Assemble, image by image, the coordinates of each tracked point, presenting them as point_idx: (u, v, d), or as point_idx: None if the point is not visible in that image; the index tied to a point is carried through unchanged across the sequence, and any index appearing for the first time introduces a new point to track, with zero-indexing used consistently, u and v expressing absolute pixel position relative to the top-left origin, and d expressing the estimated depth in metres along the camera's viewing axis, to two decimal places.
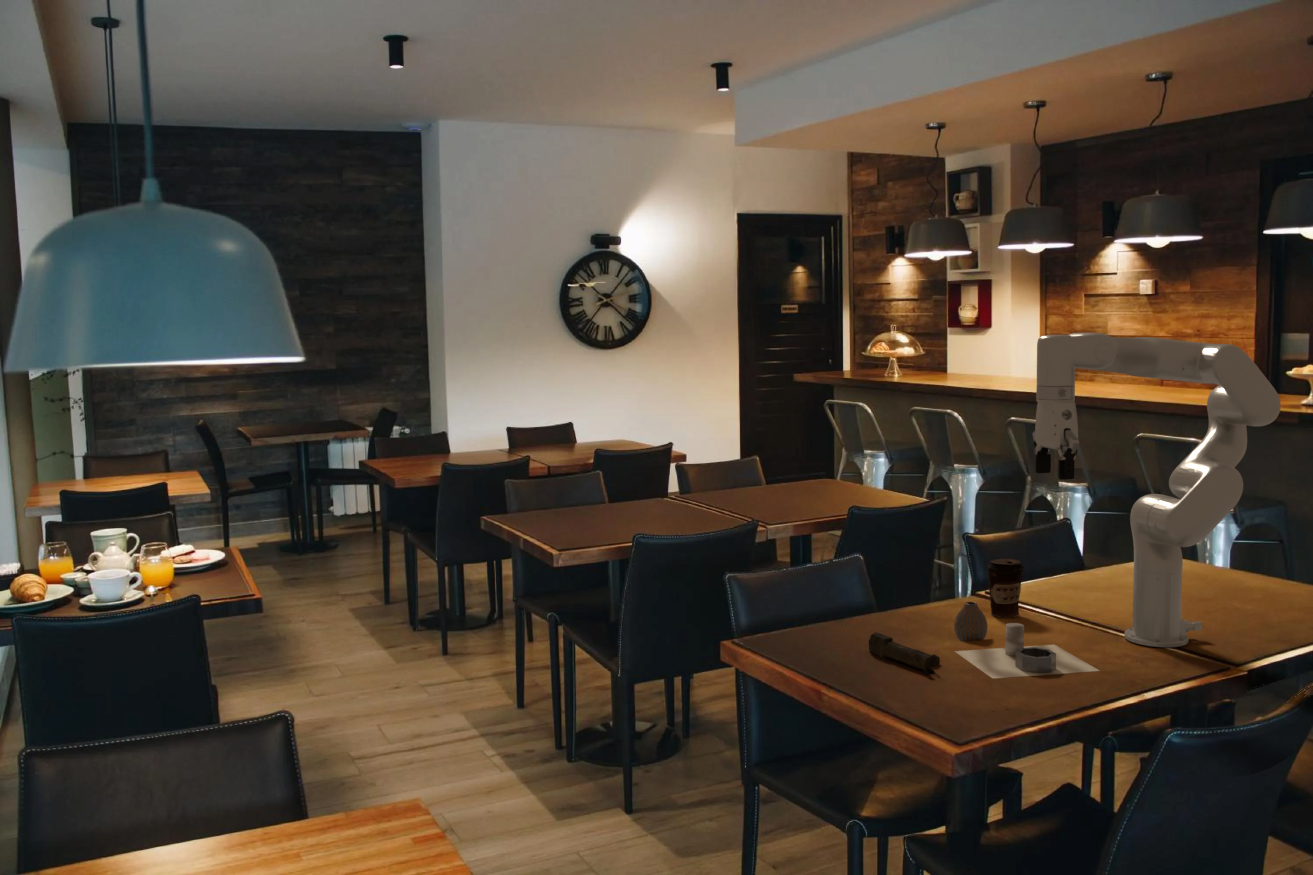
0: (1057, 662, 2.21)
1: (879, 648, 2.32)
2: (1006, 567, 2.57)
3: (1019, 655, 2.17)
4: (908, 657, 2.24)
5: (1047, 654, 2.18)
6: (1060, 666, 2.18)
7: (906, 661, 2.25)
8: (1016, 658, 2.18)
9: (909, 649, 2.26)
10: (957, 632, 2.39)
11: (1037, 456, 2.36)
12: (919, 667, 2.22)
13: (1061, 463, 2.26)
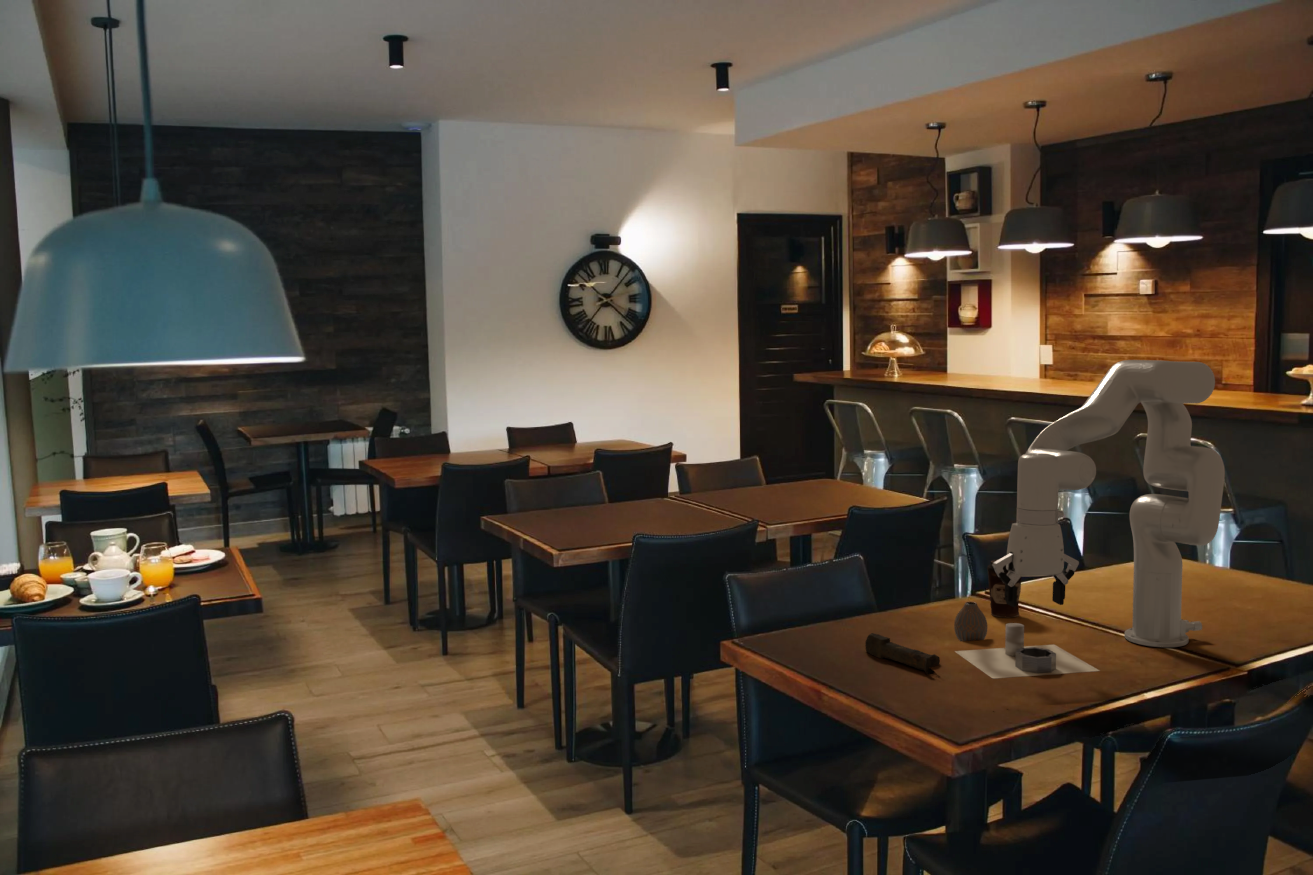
0: (1057, 662, 2.21)
1: (877, 649, 2.31)
2: None
3: (1019, 655, 2.17)
4: (908, 658, 2.24)
5: (1047, 654, 2.18)
6: (1060, 666, 2.18)
7: (905, 661, 2.24)
8: (1016, 658, 2.18)
9: (908, 649, 2.25)
10: (957, 632, 2.39)
11: (1016, 588, 2.14)
12: (919, 667, 2.21)
13: None
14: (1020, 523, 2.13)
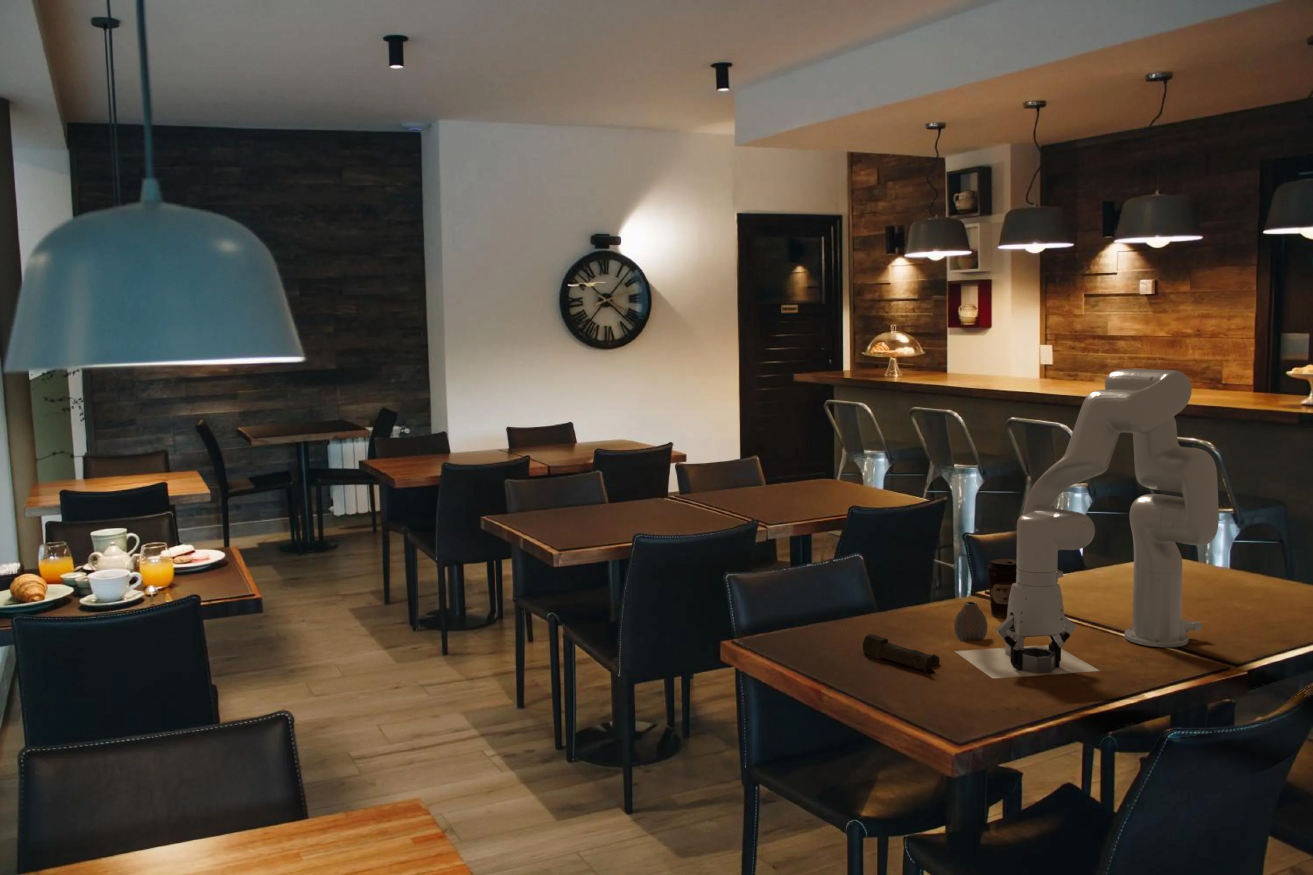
0: None
1: (875, 650, 2.31)
2: (1006, 567, 2.57)
3: None
4: (907, 658, 2.24)
5: (1047, 654, 2.18)
6: (1060, 666, 2.18)
7: (905, 662, 2.24)
8: None
9: (907, 650, 2.25)
10: (957, 632, 2.39)
11: (1021, 651, 2.15)
12: (919, 668, 2.21)
13: None
14: (1020, 584, 2.15)
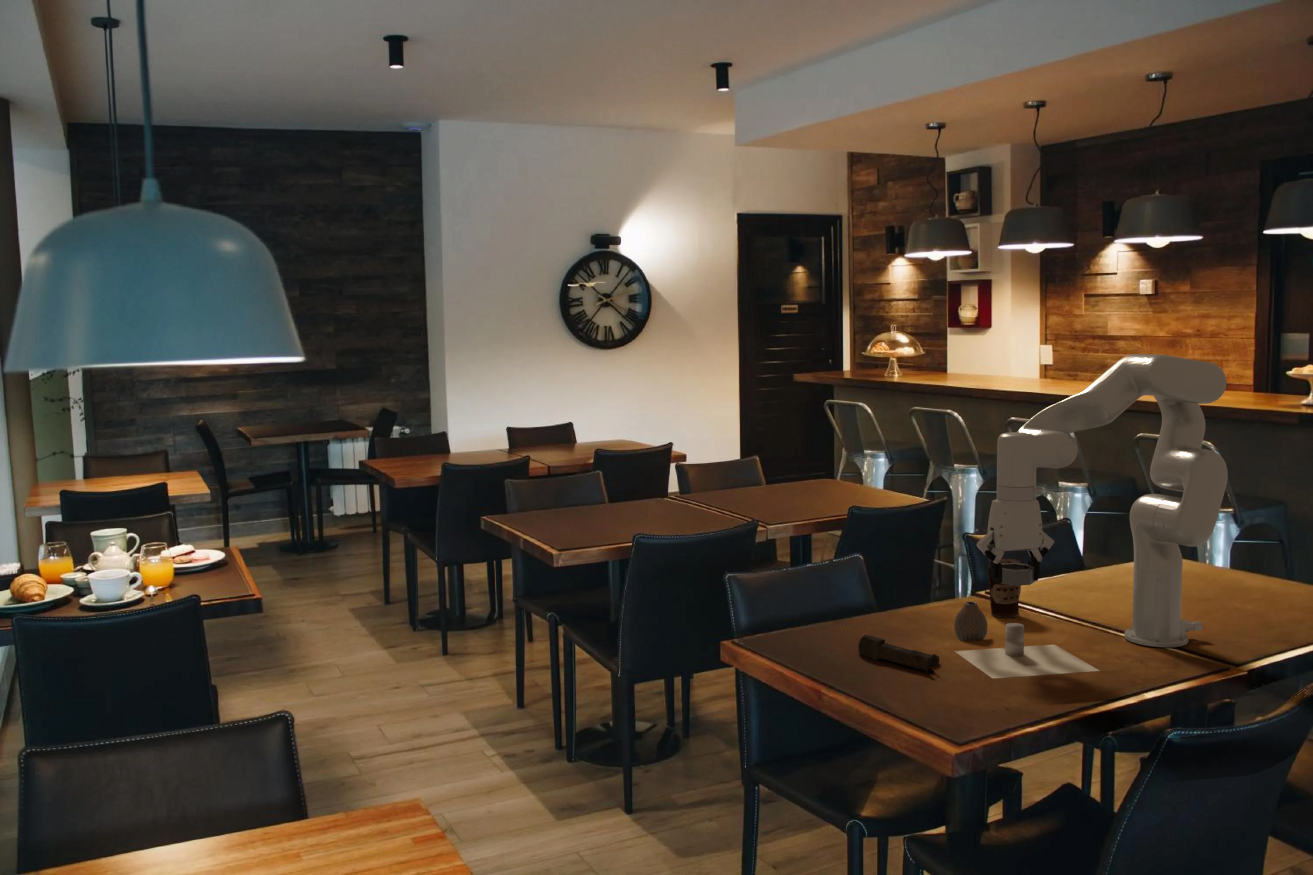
0: (1057, 662, 2.21)
1: (872, 651, 2.30)
2: None
3: None
4: (907, 658, 2.23)
5: (1026, 569, 2.26)
6: (1060, 666, 2.18)
7: (904, 662, 2.24)
8: None
9: (906, 650, 2.25)
10: (957, 632, 2.39)
11: (1001, 565, 2.23)
12: (920, 667, 2.21)
13: None
14: (1000, 499, 2.22)
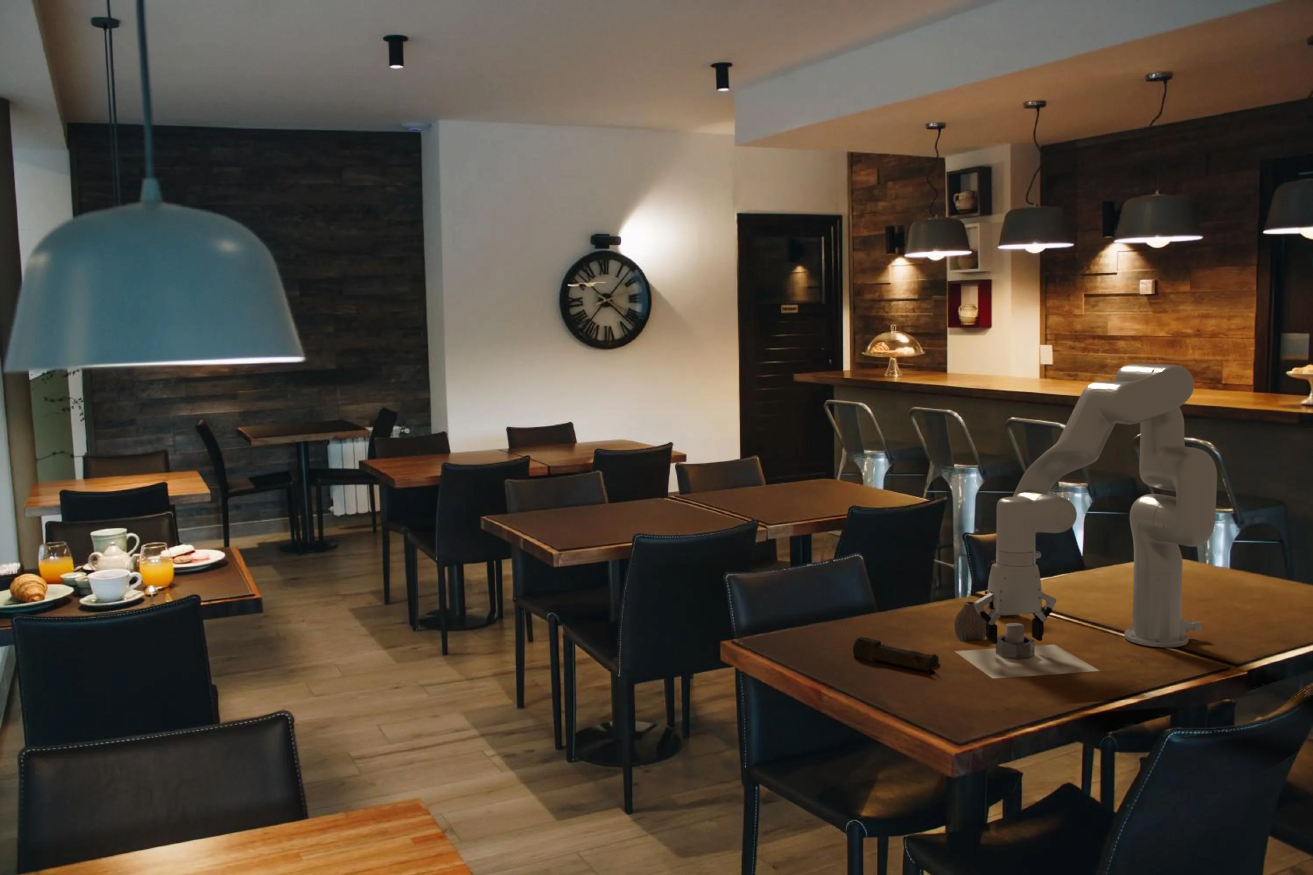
0: (1057, 662, 2.21)
1: (868, 653, 2.29)
2: None
3: (999, 642, 2.26)
4: (906, 659, 2.23)
5: (1026, 641, 2.27)
6: (1060, 666, 2.18)
7: (904, 663, 2.23)
8: (996, 645, 2.27)
9: (904, 651, 2.25)
10: (957, 632, 2.39)
11: (996, 626, 2.24)
12: (920, 668, 2.21)
13: None
14: (999, 564, 2.23)
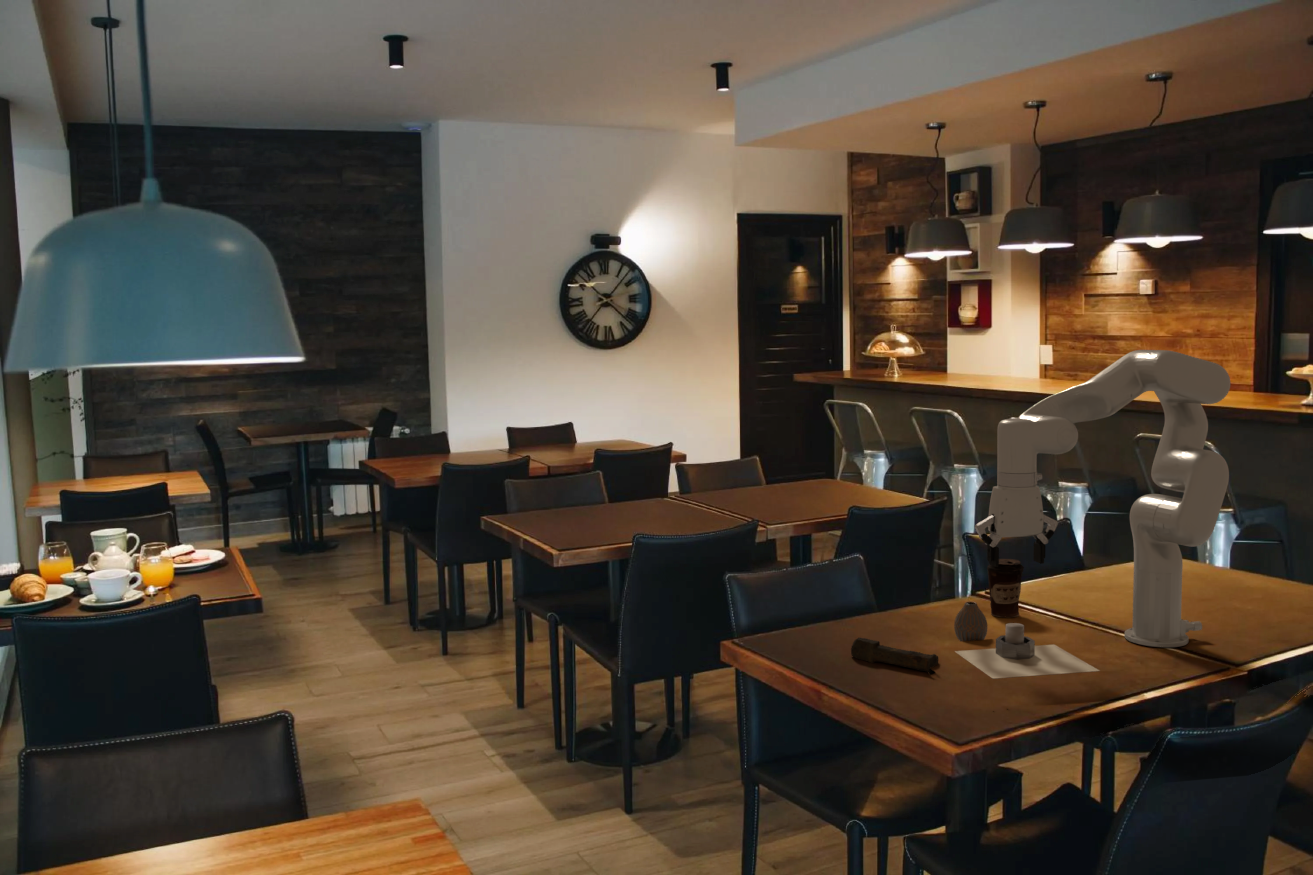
0: (1057, 662, 2.21)
1: (867, 653, 2.29)
2: (1006, 567, 2.57)
3: (999, 642, 2.26)
4: (906, 659, 2.23)
5: (1026, 641, 2.27)
6: (1060, 666, 2.18)
7: (903, 663, 2.23)
8: (996, 645, 2.27)
9: (904, 651, 2.24)
10: (957, 632, 2.39)
11: (997, 548, 2.22)
12: (920, 668, 2.21)
13: None
14: (1000, 486, 2.22)
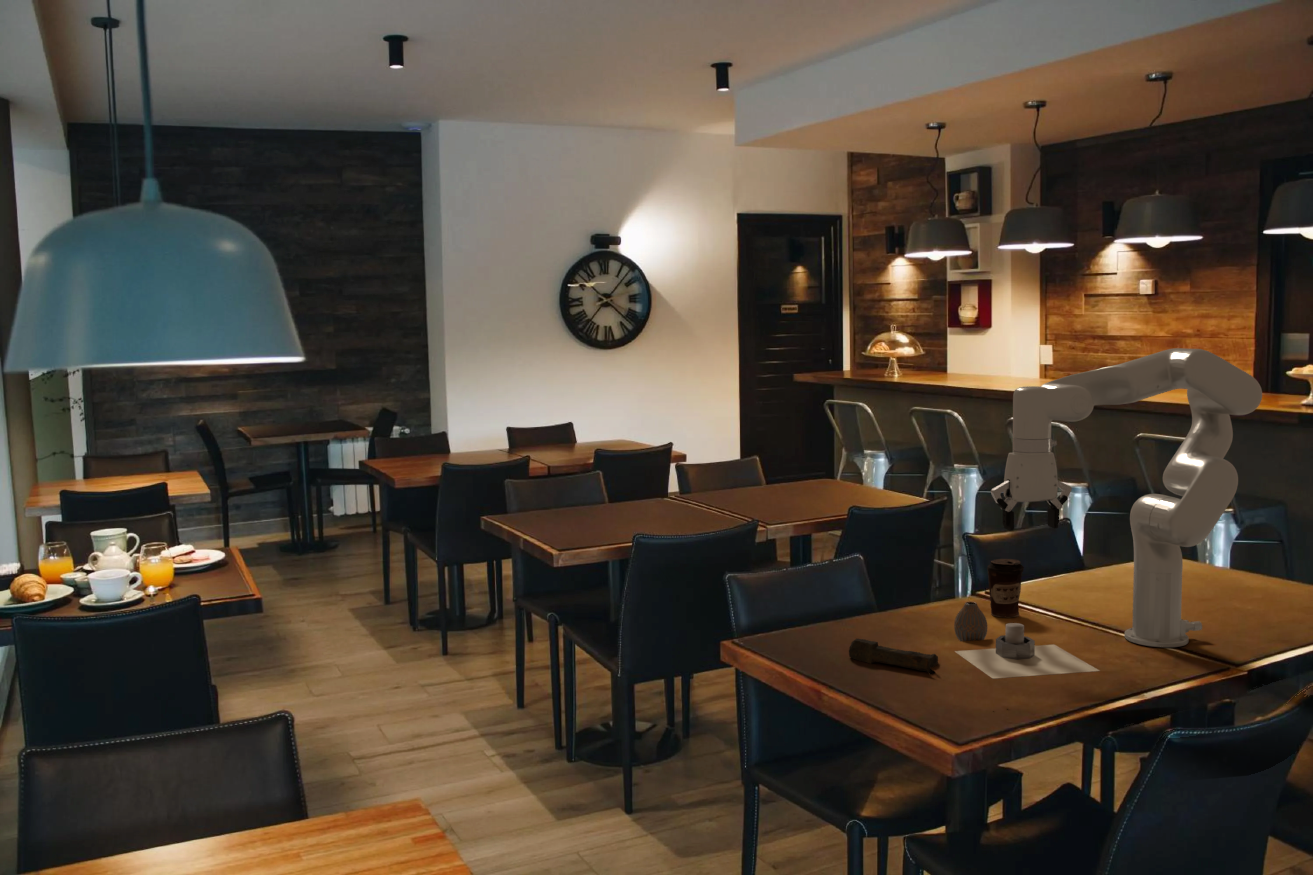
0: (1057, 662, 2.21)
1: (866, 654, 2.28)
2: (1006, 567, 2.57)
3: (999, 642, 2.26)
4: (906, 660, 2.22)
5: (1026, 641, 2.27)
6: (1060, 666, 2.18)
7: (903, 664, 2.23)
8: (996, 645, 2.27)
9: (903, 651, 2.24)
10: (957, 632, 2.39)
11: (1013, 513, 2.28)
12: (920, 668, 2.21)
13: None
14: (1016, 452, 2.27)
